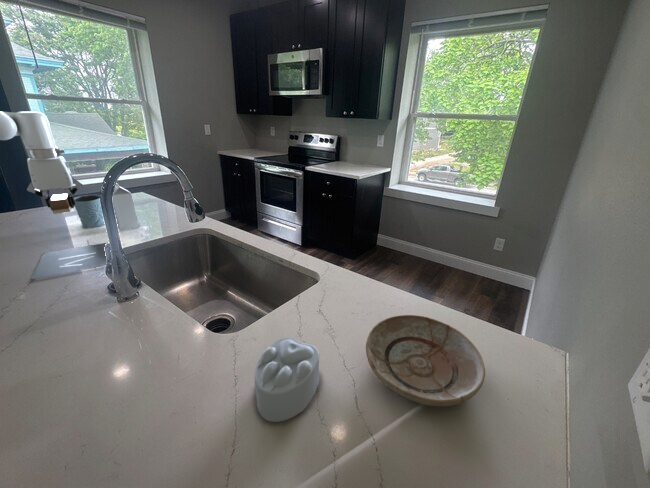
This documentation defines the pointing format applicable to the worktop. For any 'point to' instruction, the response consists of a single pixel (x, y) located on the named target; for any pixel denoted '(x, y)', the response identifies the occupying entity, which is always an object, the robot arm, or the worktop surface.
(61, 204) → the eraser
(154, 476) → the worktop surface
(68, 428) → the worktop surface
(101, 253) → the chalkboard
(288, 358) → the lumpy-topped squat cylinder
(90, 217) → the blue-grey cup
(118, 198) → the milk carton
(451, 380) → the ceramic bowl
